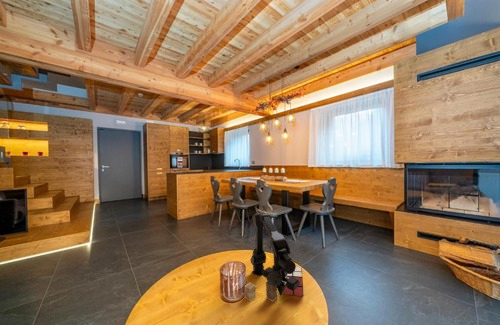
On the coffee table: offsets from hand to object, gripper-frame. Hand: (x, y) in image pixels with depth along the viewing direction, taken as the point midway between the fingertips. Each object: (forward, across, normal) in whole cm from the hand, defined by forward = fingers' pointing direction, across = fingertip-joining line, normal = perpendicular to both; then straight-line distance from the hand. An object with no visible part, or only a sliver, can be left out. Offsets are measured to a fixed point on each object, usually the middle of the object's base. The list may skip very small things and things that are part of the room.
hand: (281, 294), depth 95 cm
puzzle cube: (+4, -1, +13) cm, 14 cm away
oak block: (+4, -15, -7) cm, 17 cm away
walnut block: (+4, -6, 0) cm, 7 cm away
